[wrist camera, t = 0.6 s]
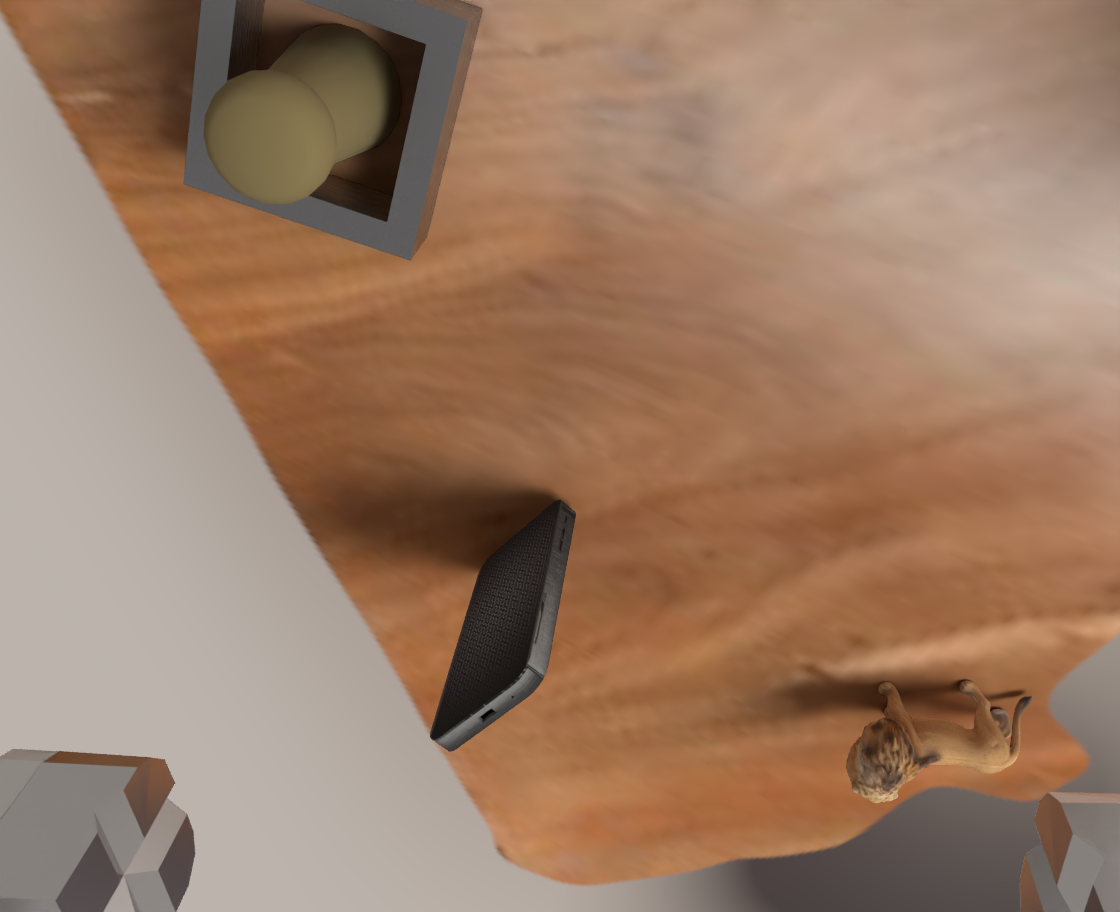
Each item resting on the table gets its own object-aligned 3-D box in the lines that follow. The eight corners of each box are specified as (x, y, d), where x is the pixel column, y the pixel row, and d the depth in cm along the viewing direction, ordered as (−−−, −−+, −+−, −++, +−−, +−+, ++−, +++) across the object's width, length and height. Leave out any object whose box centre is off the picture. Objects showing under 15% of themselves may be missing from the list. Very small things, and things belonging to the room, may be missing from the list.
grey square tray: (240, -77, 44) (208, -72, 41) (482, 8, 45) (467, 20, 42) (213, 164, 50) (183, 184, 47) (426, 236, 51) (410, 260, 48)
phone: (494, 574, 62) (443, 759, 50) (480, 563, 62) (425, 747, 49) (578, 503, 59) (546, 683, 46) (565, 491, 58) (528, 670, 46)
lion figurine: (839, 731, 66) (854, 822, 60) (832, 684, 64) (847, 773, 58) (1031, 715, 63) (1067, 808, 57) (1029, 665, 61) (1067, 756, 55)
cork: (256, 94, 48) (152, 153, 39) (324, -6, 46) (229, 31, 36) (355, 179, 50) (277, 254, 41) (426, 87, 47) (360, 146, 38)
